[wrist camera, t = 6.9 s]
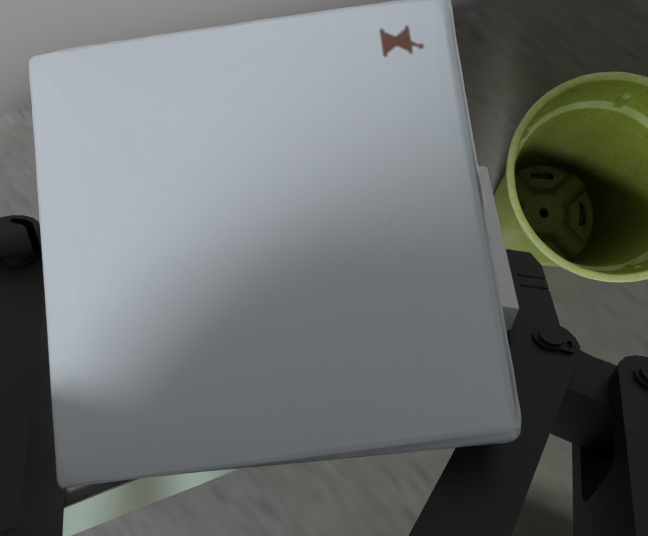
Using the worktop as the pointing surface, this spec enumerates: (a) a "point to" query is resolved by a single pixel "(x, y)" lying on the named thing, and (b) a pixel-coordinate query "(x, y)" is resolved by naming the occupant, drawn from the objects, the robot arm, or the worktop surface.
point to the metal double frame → (129, 498)
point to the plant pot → (582, 178)
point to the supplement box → (267, 247)
